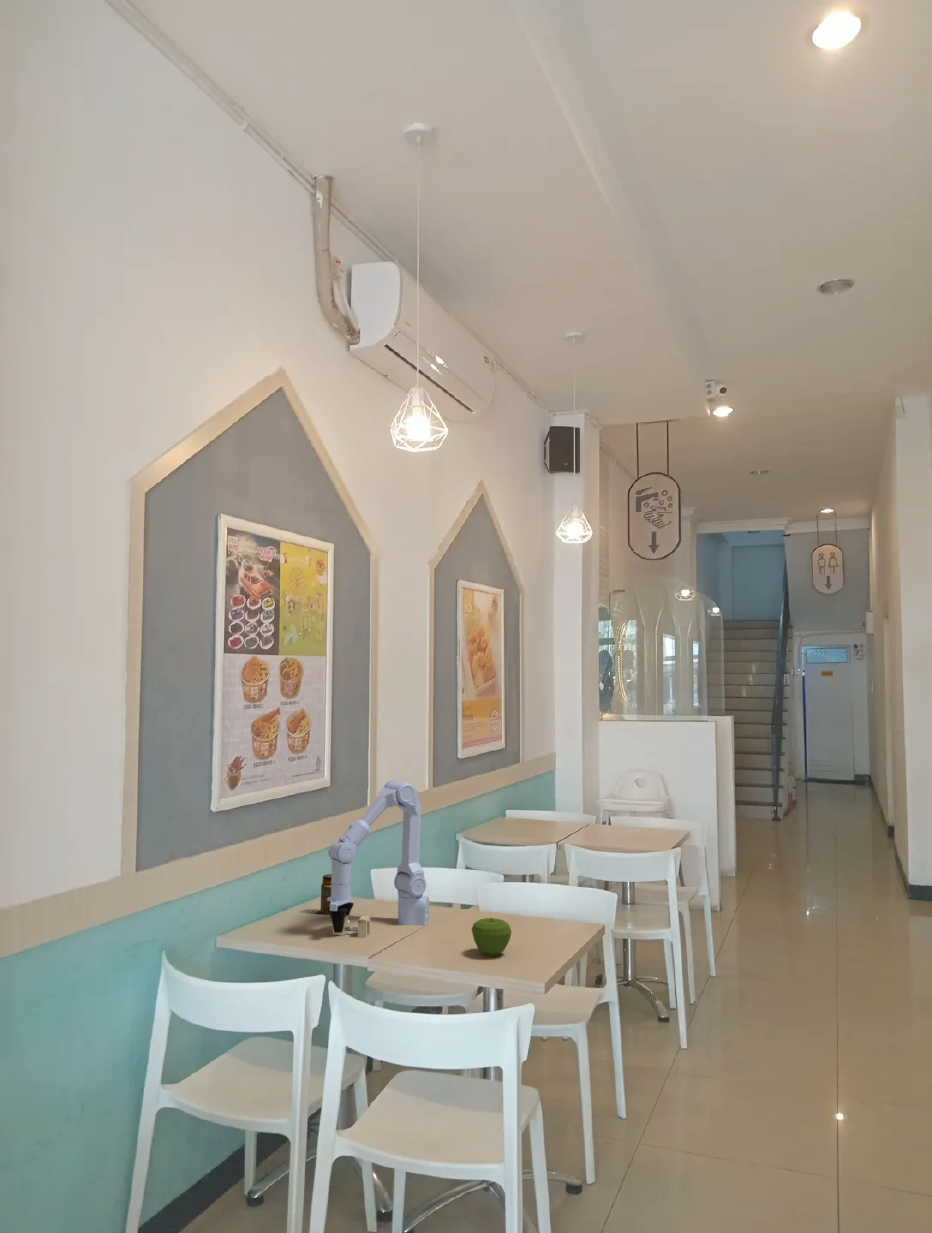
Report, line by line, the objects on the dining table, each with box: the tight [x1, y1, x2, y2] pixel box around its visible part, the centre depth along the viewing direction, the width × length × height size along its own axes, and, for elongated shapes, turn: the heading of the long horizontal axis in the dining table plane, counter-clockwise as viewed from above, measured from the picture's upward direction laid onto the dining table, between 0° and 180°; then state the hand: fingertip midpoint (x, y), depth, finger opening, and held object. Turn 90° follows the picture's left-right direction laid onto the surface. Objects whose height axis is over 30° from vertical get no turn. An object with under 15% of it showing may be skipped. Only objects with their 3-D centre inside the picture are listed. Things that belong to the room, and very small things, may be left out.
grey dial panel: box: [357, 915, 372, 939], centre depth 267 cm, size 15×15×6 cm
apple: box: [471, 917, 513, 957], centre depth 247 cm, size 11×10×10 cm
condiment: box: [311, 873, 332, 916], centre depth 289 cm, size 7×8×12 cm
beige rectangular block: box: [332, 915, 358, 937], centre depth 262 cm, size 9×4×5 cm, turn 80°
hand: (340, 930), depth 262 cm, fingers closed on beige rectangular block, 3 cm apart
